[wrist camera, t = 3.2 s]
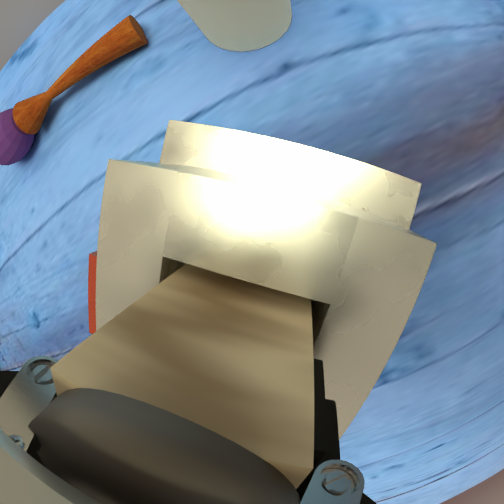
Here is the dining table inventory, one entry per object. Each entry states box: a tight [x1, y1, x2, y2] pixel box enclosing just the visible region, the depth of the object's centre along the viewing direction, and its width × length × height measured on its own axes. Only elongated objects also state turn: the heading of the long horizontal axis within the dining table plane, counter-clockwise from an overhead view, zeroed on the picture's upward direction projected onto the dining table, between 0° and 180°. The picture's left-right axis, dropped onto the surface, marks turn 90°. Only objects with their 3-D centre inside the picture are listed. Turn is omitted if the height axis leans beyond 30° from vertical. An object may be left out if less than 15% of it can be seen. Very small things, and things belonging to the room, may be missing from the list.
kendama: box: [0, 15, 148, 165], centre depth 19 cm, size 6×6×20 cm
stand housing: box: [88, 120, 437, 439], centre depth 16 cm, size 18×18×11 cm
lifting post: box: [28, 264, 314, 504], centre depth 12 cm, size 6×6×17 cm
